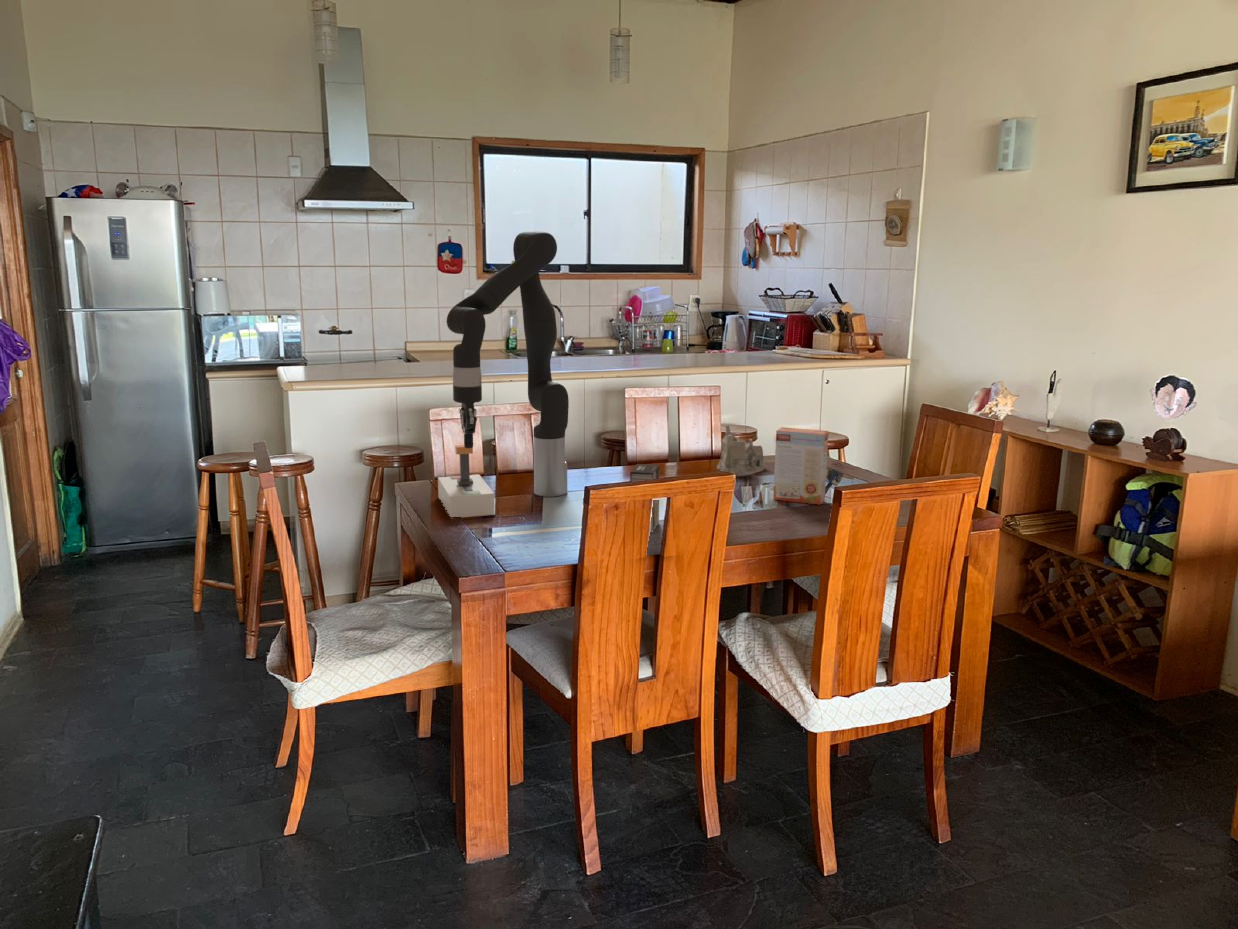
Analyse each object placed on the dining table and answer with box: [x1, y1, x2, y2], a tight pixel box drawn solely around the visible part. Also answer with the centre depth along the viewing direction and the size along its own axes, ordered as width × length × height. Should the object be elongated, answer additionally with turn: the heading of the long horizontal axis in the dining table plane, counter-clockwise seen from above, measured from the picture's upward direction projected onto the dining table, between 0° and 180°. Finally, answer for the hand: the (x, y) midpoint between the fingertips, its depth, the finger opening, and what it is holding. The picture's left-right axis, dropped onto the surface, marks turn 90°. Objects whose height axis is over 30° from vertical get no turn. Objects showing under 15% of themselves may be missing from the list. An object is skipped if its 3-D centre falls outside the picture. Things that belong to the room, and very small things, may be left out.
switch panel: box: [437, 474, 496, 518], centre depth 260 cm, size 12×22×6 cm, turn 19°
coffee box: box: [629, 463, 661, 532], centre depth 241 cm, size 9×6×16 cm
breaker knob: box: [454, 444, 474, 486], centre depth 258 cm, size 4×3×11 cm
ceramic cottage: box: [716, 424, 765, 477], centre depth 303 cm, size 16×16×15 cm
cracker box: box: [773, 426, 829, 506], centre depth 267 cm, size 14×6×21 cm, turn 65°
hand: (468, 447), depth 249 cm, fingers closed
